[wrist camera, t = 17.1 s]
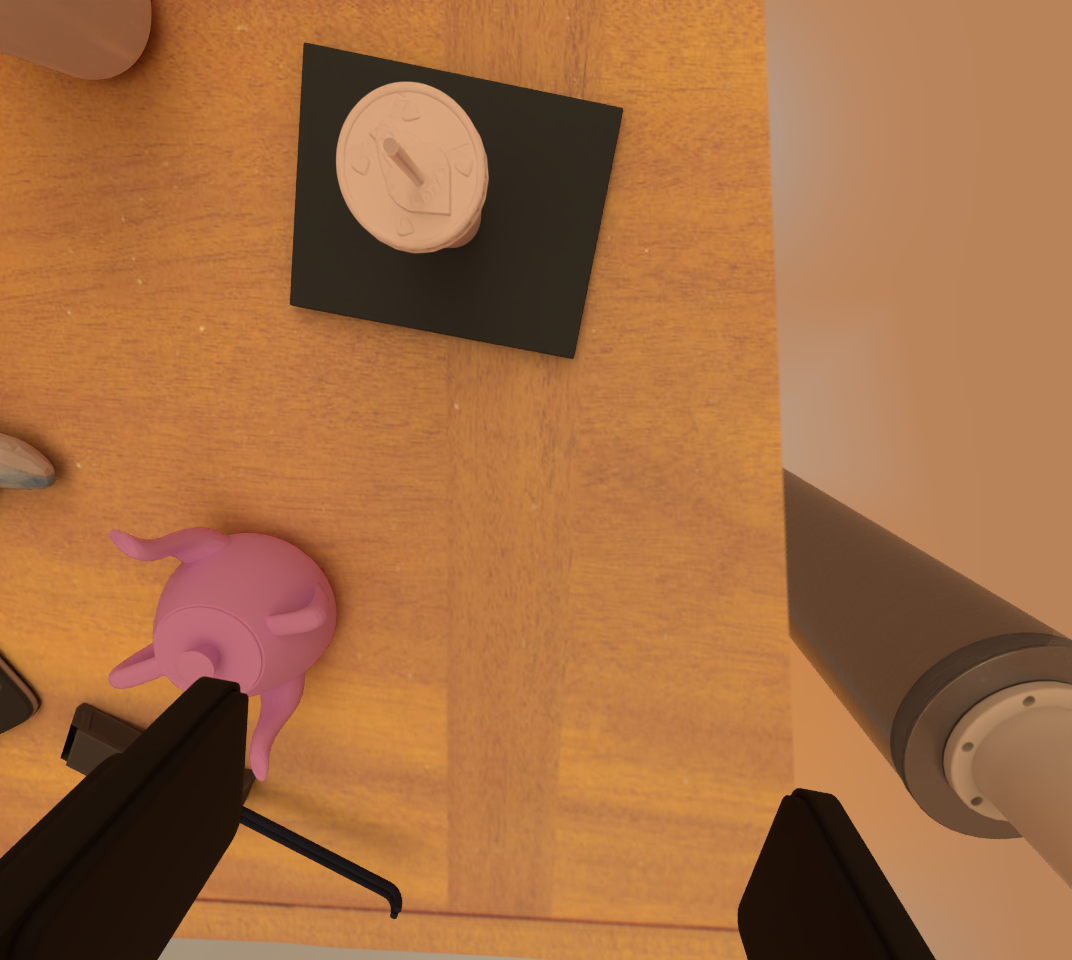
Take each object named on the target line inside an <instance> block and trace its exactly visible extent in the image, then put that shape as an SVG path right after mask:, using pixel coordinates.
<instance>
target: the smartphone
mask: <svg viewBox="0 0 1072 960" xmlns="http://www.w3.org/2000/svg"><path fill="white" fill-rule="evenodd" d="M38 706H39V702H38V699H37V697H36V696H35V694H34V693H33V691H32V690H31V689H30V688H29V687H28V685H27V684H26V683H25V682H24V681H23V680H22V679H21V678H20V677H19V676H18V674H17V673H16V672H15V671H14V670H13V669H12V668H11V667H10V666H9V664H8V663H7V662H6V661H5V660H4V659H3V658H2V657H1V656H0V734H1V733H3V732H5V731H7V730H9V729H11V728H13V727H15V726H17V725H19V724H21V723H23V722H25V721H26V720H27V719H29V718H30V717H31V716H33V715H34V714H35V712H36V711H37V709H38Z"/></svg>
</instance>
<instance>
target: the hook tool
mask: <svg viewBox="0 0 1072 960" xmlns="http://www.w3.org/2000/svg"><path fill="white" fill-rule="evenodd" d="M141 734H142V733H141V732H139V731H137V730H136V729H134V728H132V727H130V726H128V725H126V724H124V723H122V722H120V721H118V720H116V719H114V718H112V717H110V716H108V715H106V714H105V713H103V712H101V711H99V710H97V709H95V708H93V707H91V706H89V705H87V704H85V703H83V704H81V705H80V706H78V707H77V708H76V711H75V714H74V717H73V720H72V723H71V727H70V730H69V733H68V736H67V739H66V742H65V746H64V749H63V752H62V755H61V759H63V760H65V761H67V764H66V766H68V767H70V768H72V769H74V770H76V771H78V772H80V773H82V774H84V775H86V776H87V775H88V774H89V773H90V772H91V771H92V770H93V769H95V768H96V767H97V766H98V765H99V764H100V763H101V762H103V761H104V760H105V759H106V758H108V757H109V756H111V755H114V754H116V753H123V752H124V751H125V750H126V749H127V748H128V747H129V746H130V745H131V744H132V743H133V742H134V741H135V740H136V739H137V738H138V737H139V736H140V735H141ZM255 778H256V777H255V775H254V773H253V771H252V770H244V782H243V798H242V814H241V820H240V823H241V824H243V825H245V826H247V827H249V828H251V829H253V830H255V831H257V832H259V833H261V834H263V835H265V836H266V837H268V838H270V839H272V840H274V841H276V842H278V843H280V844H282V845H284V846H286V847H288V848H290V849H292V850H294V851H296V852H298V853H299V854H301V855H303V856H305V857H307V858H309V859H311V860H313V861H315V862H317V863H319V864H321V865H323V866H325V867H327V868H329V869H331V870H332V871H334V872H336V873H338V874H340V875H342V876H344V877H346V878H348V879H350V880H352V881H354V882H356V883H358V884H360V885H362V886H364V887H365V888H367V889H369V890H371V891H373V892H375V893H377V894H379V895H381V896H383V897H384V898H386V899H387V900H388V901H389V903H390V906H391V914H390V917H391V918H393V919H396V918H397V916H398V913H399V912H401V909H402V897H401V893H400V891H399V889H398V888H397V887H396V886H395V885H394V884H393V883H391V882H390V881H388V880H386V879H384V878H382V877H380V876H378V875H376V874H374V873H372V872H370V871H368V870H366V869H364V868H362V867H360V866H358V865H357V864H355V863H353V862H351V861H349V860H347V859H345V858H343V857H341V856H339V855H337V854H335V853H333V852H331V851H329V850H327V849H325V848H324V847H322V846H320V845H318V844H316V843H314V842H312V841H310V840H308V839H306V838H304V837H302V836H300V835H298V834H296V833H294V832H293V831H291V830H289V829H287V828H285V827H283V826H281V825H279V824H277V823H275V822H273V821H271V820H269V819H267V818H265V817H263V816H261V815H260V814H258V813H256V812H254V811H252V810H250V809H248V808H246V807H244V806H243V804H244V802H245V800H246V798H247V796H248V793H249V791H250V789H251V787H252V785H253V782H254V780H255Z"/></svg>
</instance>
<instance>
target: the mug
mask: <svg viewBox="0 0 1072 960" xmlns="http://www.w3.org/2000/svg"><path fill="white" fill-rule="evenodd" d="M151 20H152V8H151V0H0V52H1V53H4V54H7V55H10V56H13V57H16V58H19V59H22V60H25V61H28V62H31V63H34V64H37V65H40V66H43V67H46V68H49V69H51V70H54V71H57V72H60V73H63V74H66V75H69V76H72V77H76V78H80V79H86V80H102V79H107V78H111V77H114V76H116V75H119V74H121V73H123V72H124V71H126V70H127V69H129V68H130V67H131V66H132V65H133V64H134V63H135V62H136V61H137V60H138V58H139V57H140V56H141V54H142V52H143V50H144V48H145V46H146V44H147V41H148V38H149V34H150V29H151Z"/></svg>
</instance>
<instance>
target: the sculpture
mask: <svg viewBox="0 0 1072 960" xmlns="http://www.w3.org/2000/svg"><path fill="white" fill-rule="evenodd" d="M56 480H57V478H56V473H55V469H54V466H53V465H52V464H51V462H50V461H49V460H48V459H47V458H46V457H45V456H44V455H43V454H42V453H41V452H39V451H38V450H36V449H35V448H34V447H32V446H31V445H29V444H28V443H26V442H24V441H23V440H21V439H19V438H16V437H13V436H10V435H6V434H0V488H7V489H27V490H30V489H44V488H47V487H49V486H51V485H53V484H54V483H55V481H56Z"/></svg>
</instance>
